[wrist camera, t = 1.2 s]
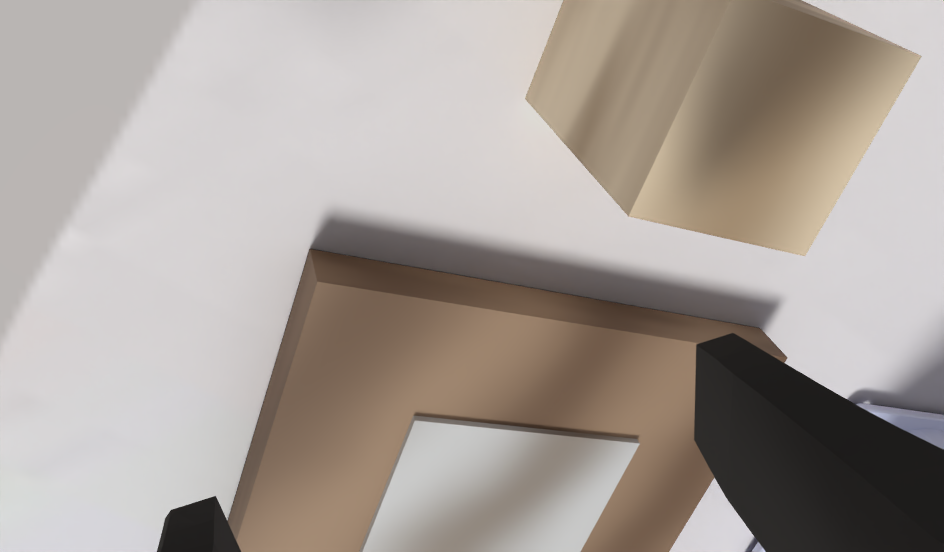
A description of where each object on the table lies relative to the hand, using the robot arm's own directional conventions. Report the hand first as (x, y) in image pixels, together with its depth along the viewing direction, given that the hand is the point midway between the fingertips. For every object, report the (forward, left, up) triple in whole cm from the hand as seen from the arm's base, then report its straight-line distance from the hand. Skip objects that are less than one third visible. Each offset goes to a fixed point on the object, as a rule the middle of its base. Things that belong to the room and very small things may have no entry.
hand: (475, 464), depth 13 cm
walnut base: (-6, +9, -10) cm, 15 cm away
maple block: (-5, -5, -10) cm, 12 cm away
